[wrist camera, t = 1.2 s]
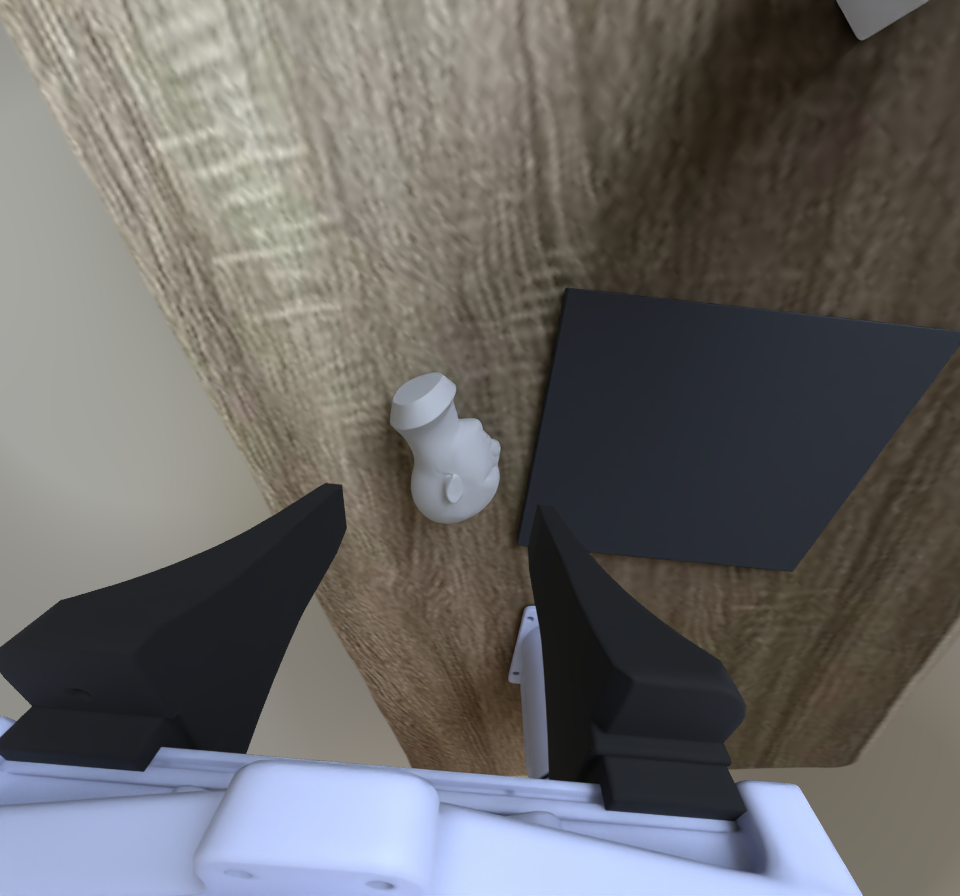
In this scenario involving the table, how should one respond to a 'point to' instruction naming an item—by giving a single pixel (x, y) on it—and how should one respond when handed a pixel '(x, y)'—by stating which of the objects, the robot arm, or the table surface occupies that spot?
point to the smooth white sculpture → (445, 451)
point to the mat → (716, 424)
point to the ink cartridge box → (875, 14)
